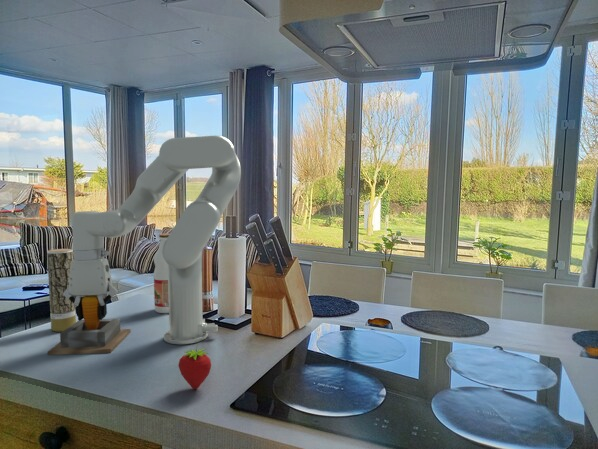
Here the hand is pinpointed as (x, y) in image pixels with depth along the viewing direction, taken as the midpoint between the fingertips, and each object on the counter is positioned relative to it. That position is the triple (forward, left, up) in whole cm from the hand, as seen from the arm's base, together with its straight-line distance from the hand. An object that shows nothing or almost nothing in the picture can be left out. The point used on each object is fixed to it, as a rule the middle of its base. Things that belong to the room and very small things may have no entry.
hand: (92, 317), depth 114 cm
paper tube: (+14, -13, -7) cm, 21 cm away
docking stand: (0, 0, -7) cm, 7 cm away
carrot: (0, 0, -5) cm, 5 cm away
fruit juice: (-14, -31, -7) cm, 35 cm away
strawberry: (-34, +30, -7) cm, 46 cm away
